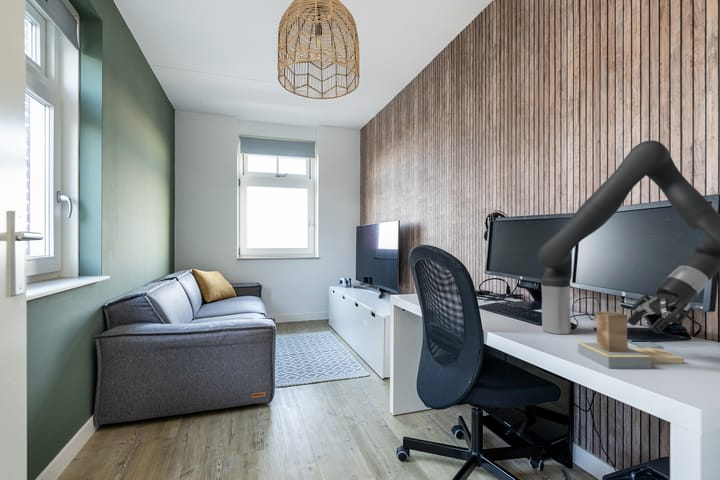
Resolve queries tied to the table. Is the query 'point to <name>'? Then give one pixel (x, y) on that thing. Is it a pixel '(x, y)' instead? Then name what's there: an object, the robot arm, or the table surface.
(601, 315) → the wooden block
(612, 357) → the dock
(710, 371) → the table surface
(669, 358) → the pallet
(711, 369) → the table surface
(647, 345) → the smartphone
